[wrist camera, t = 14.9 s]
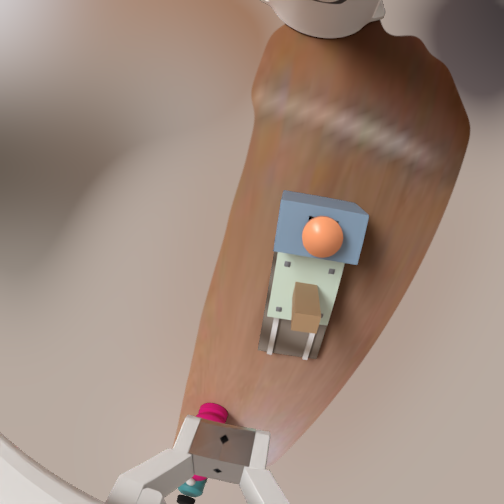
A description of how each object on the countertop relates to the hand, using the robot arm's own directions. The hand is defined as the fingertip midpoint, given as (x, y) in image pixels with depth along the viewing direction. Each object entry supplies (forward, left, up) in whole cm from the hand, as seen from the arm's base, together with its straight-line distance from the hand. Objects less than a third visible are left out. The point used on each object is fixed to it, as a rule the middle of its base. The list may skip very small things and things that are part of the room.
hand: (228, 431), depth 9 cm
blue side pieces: (-1, +5, -33) cm, 33 cm away
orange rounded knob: (-1, +5, -28) cm, 29 cm away
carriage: (+8, +5, -31) cm, 32 cm away
